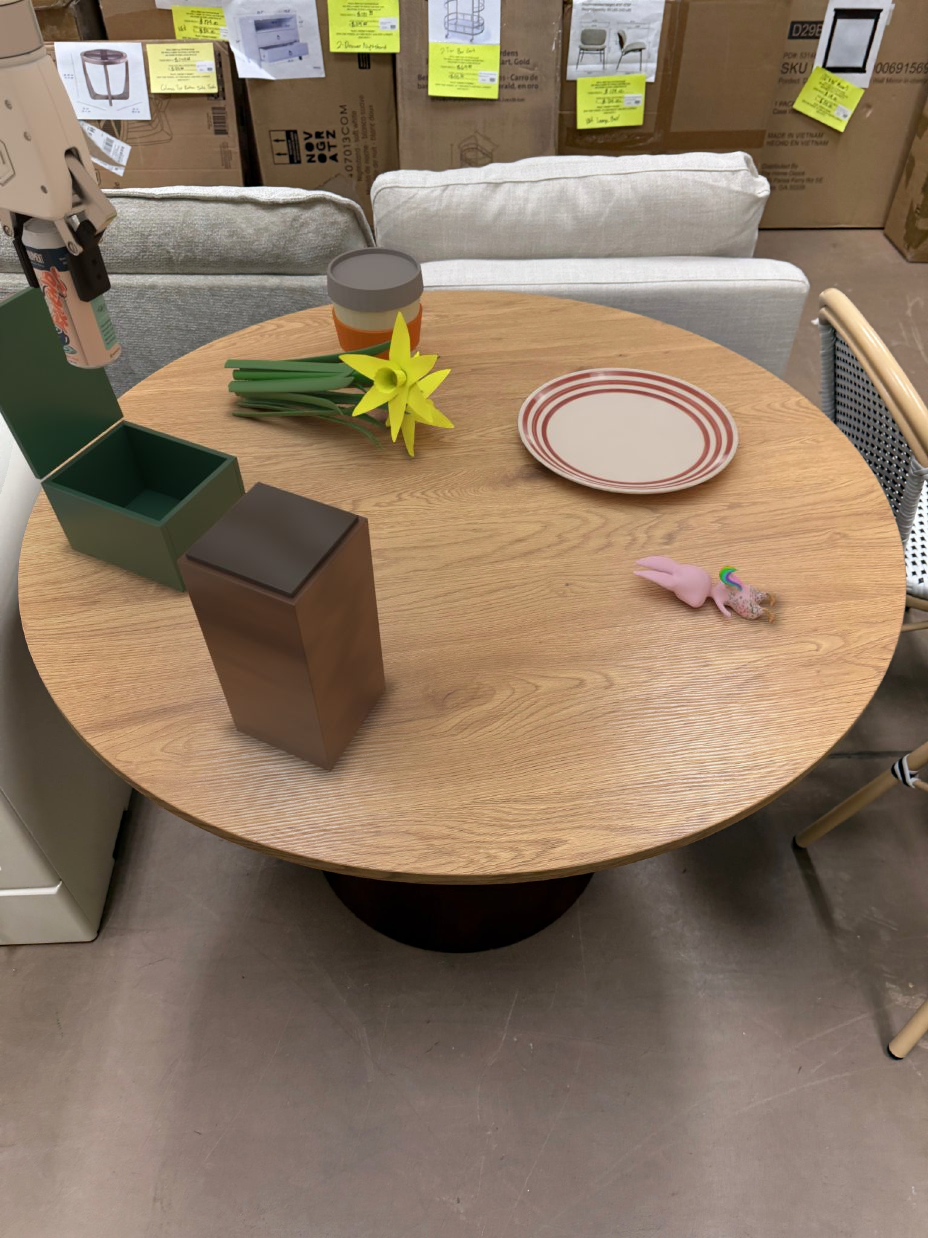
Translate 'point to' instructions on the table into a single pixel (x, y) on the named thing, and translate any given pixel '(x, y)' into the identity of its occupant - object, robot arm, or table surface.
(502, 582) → the table surface
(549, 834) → the table surface
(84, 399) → the lid
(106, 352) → the beer can
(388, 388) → the daffodil flowers
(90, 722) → the table surface
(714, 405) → the dinner plate
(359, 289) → the reusable coffee cup
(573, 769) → the table surface
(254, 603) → the stand
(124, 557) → the box
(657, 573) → the rabbit figure
